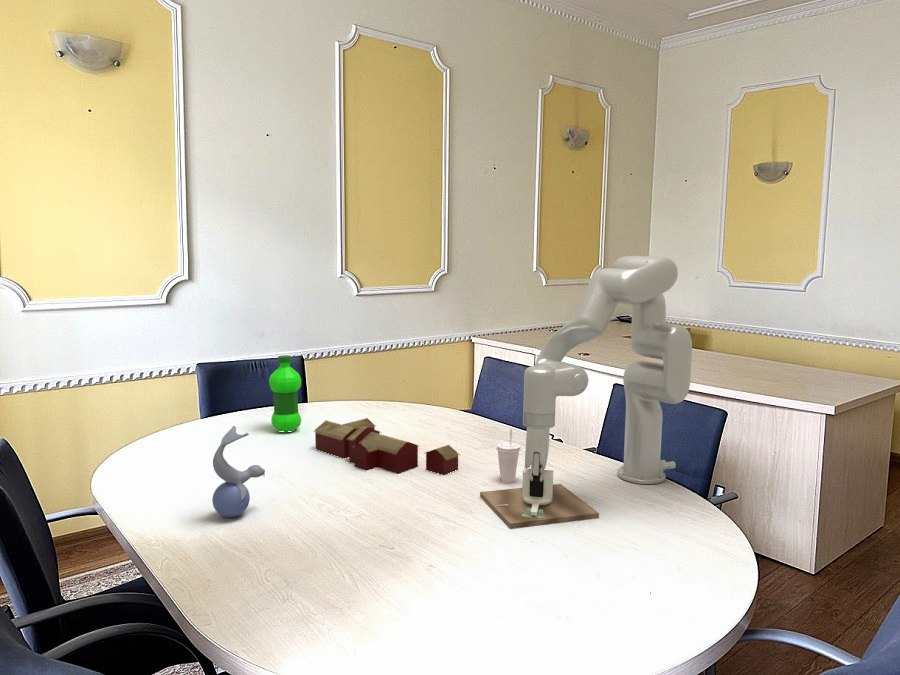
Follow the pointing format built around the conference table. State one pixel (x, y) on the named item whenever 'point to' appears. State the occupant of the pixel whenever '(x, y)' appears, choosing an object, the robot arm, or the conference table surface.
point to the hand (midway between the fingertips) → (536, 492)
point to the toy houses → (379, 448)
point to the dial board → (519, 512)
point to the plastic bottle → (285, 396)
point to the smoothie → (508, 459)
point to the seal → (232, 480)
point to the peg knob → (546, 490)
